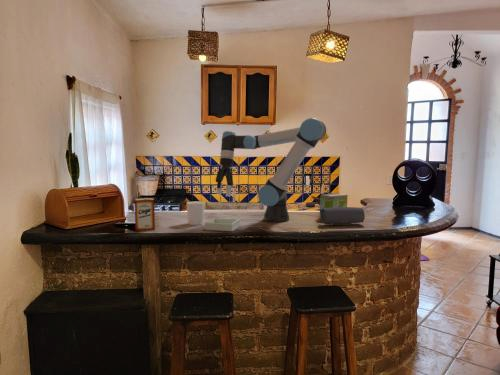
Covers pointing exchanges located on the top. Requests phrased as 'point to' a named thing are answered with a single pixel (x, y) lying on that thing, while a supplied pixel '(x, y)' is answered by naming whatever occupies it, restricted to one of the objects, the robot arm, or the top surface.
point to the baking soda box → (144, 214)
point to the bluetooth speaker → (342, 215)
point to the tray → (222, 224)
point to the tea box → (332, 201)
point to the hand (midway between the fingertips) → (223, 195)
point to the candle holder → (195, 212)
